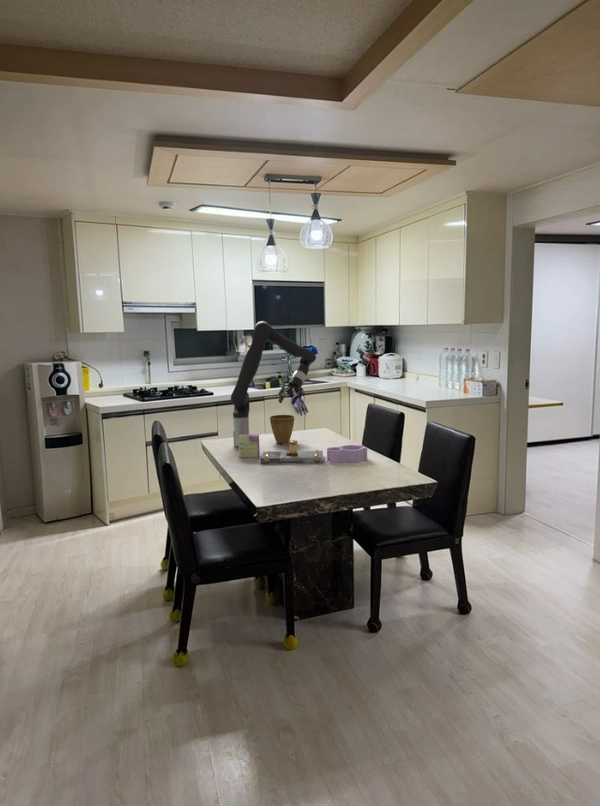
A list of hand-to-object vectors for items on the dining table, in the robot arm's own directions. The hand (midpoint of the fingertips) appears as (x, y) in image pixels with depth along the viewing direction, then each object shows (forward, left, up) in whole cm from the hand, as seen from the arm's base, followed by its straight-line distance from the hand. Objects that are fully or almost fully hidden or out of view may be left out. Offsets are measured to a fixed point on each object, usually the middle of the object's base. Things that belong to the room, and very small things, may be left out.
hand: (286, 403), depth 287 cm
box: (-20, -10, -28) cm, 36 cm away
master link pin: (+4, -19, -27) cm, 34 cm away
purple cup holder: (+32, -22, -28) cm, 48 cm away
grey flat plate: (+4, -19, -27) cm, 34 cm away
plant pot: (-4, +21, -28) cm, 35 cm away
